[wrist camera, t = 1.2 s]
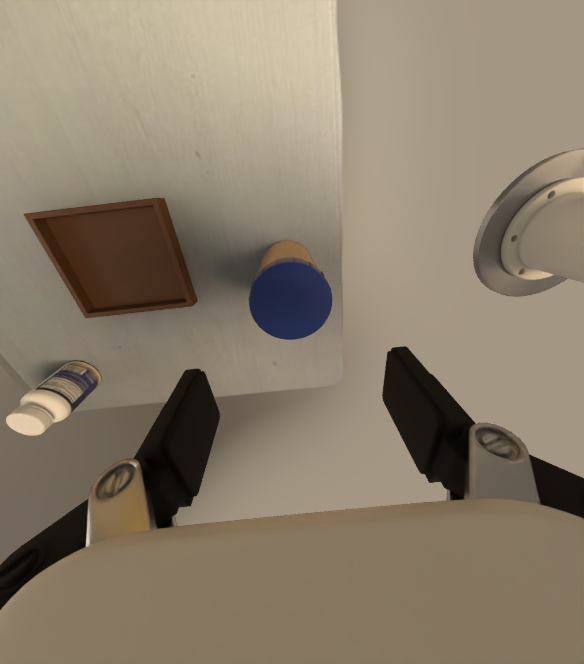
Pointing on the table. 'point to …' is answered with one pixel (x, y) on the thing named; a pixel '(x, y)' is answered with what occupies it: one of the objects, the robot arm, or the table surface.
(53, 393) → the pill bottle
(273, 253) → the jar
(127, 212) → the tray
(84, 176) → the table surface
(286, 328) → the jar lid
